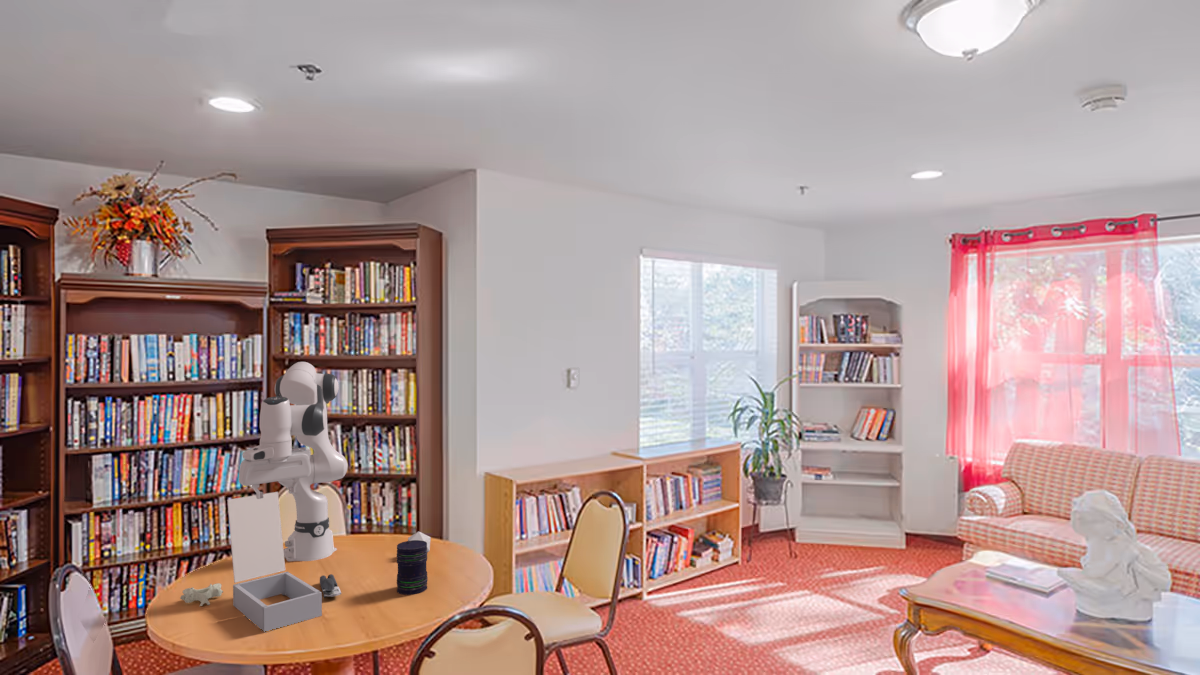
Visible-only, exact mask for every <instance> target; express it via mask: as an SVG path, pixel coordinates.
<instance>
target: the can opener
mask: <svg viewBox="0 0 1200 675" xmlns="http://www.w3.org/2000/svg"><path fill="white" fill-rule="evenodd" d="M319 584H320V588H321V590H322V591H321V592H322V593H323V598H326V597H327V598H329V597H331V598H332V597H337V596H340V595H341V594H342V592H341V589H340V586H338V583H337V580H336V577H335V576H334V574H332V573H331V574H328V576H325V575H321V576H319Z"/></svg>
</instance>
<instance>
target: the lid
mask: <svg viewBox="0 0 1200 675" xmlns="http://www.w3.org/2000/svg"><path fill="white" fill-rule="evenodd" d="M279 500H280V499H279V492H278V491H275V492H274V491H273V492H267V493H263V498H261V499H257V498H256V494H255V495H248V496H243V497H242V496H241V497H236V498H230V499H227V500H226V501H227V511H228V524H229V535H230V546H231V548H230V549H231V558H232V560H231V561H232V570H233V572H232V573H233V582H234V583H235V584H237V583H241V582H245V581H247V580H248V581H249V580H253V579H257V578H262V577H266V576H270V575H274V574H278V573H279V572H281V573H282V572H286V563H285V562H286V561H285V557H284V550H283V549H284V540H283V532H282V520H281V509H280V501H279Z"/></svg>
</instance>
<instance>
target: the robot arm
mask: <svg viewBox="0 0 1200 675" xmlns="http://www.w3.org/2000/svg"><path fill="white" fill-rule="evenodd" d="M339 386H340V385H339V381H338V379H337V377H336V375H335V374H332V373H327V372H325V373H318V372H317V369H316V367H315V366H314V365H312V364H311V363H309V362H306V361H298V362H295V363H294V364H293V365H291V366H290V367H289V368H288V369H287V370H286V372H285V373H284V374H283V375H280V377H278V378H277V379H276V382H275V385H274V394H275V396H271V397H267V398H264V399H263V400H262V401H261V406H260V412H259V430H260V438H259V445H257V446H254V447H251V448H250V449H247V450H244V451H243V452H242V454H241V456H242V458H243V460H242V461H241V463H240V465H239V470H238V482H239V484H240V485H242V486H243V487H247V486H251V488H252V489H253V490H254V492H255V495H256V498H257V499H261V498H263V494H264V491H260V490H259V488H260V484H268V483H275V482H277V483H279V484H280V485H282V486H283V487H285V488H286V489H287V490H288V494H289V495H290V494H291V495H292V496H293V499H294V500H295V501H294V502H295V509H296V520H295V524H294V528H293V529H294V531H293V532H292V533H291V534H290V535H289V536H288V537H287V540H285V541H284V546H285V548H283V550H284V559H286V561H287V562H312V561H317V560H321V559H322V560H323V559H326V558H327V557H328V558H329V557H330V556H332V554H333V553H334V552H335V551H338V548H337V547H335V546H334V536H333V530H331V529H330V517H329V510H328V509H329V503H328V502H329V500H328V498H327V495H325V494H323V493H321V492H319V491H317V490H313V489H312V488H311V485H313V484H321V483H331V482H334V481H338V480H341V479H343V478H344V477H345V475H346V474H347V472H348V469H349V464H348V460H347V458H346V456H344V455H343V454H341V453H340V452H338V451H337V450H336V449H335V447H333V445H332V443H331V441H330V437H329V431H328V411H327V410H328V409H327V404H329V403H330V402H332V401H333V400H335V398H337V395H338V393H339V389H340V387H339ZM292 436H295V438H296V440H297V441H298V443H299V444H301V445H303V446H305V447H295V448H292V445H293V444H292V443H293V441H292ZM307 447H308V448H307ZM309 448H311V449H312V450H313V454H311V451H310V449H309Z"/></svg>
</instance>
